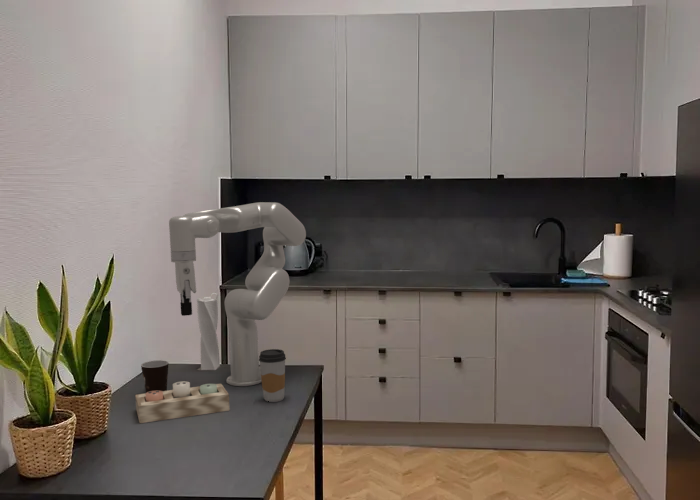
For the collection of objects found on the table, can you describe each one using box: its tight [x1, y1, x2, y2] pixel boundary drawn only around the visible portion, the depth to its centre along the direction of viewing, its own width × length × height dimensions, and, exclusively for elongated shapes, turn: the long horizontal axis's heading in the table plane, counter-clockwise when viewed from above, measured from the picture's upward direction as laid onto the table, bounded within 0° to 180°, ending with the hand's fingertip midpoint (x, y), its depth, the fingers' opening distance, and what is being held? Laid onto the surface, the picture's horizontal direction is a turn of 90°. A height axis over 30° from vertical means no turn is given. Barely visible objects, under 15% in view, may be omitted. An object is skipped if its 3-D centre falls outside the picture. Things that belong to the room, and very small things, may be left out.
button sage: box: [200, 383, 217, 395], centre depth 224 cm, size 5×5×5 cm
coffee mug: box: [140, 359, 169, 393], centre depth 240 cm, size 12×9×10 cm
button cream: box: [172, 380, 191, 398], centre depth 221 cm, size 5×5×5 cm
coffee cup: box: [258, 348, 287, 403], centre depth 230 cm, size 8×8×15 cm
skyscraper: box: [196, 292, 222, 371], centre depth 267 cm, size 8×8×28 cm
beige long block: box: [134, 383, 230, 424], centre depth 222 cm, size 26×12×5 cm, turn 110°
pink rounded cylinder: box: [144, 390, 163, 402], centre depth 219 cm, size 5×5×5 cm
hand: (186, 314), depth 230 cm, fingers closed
